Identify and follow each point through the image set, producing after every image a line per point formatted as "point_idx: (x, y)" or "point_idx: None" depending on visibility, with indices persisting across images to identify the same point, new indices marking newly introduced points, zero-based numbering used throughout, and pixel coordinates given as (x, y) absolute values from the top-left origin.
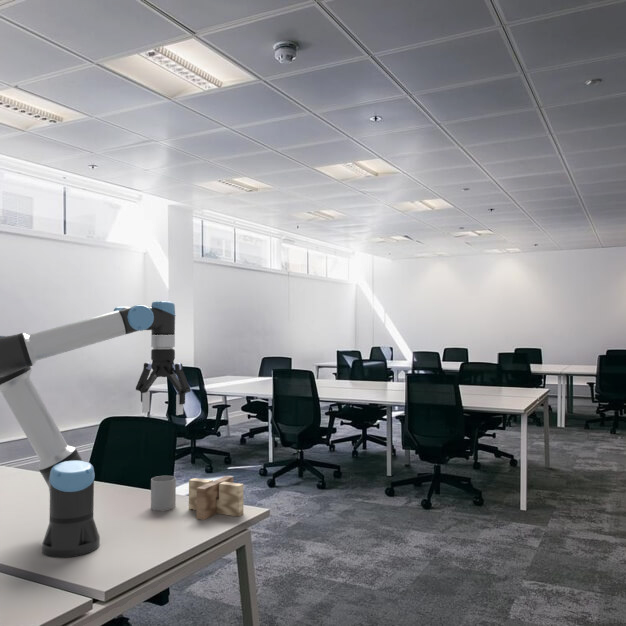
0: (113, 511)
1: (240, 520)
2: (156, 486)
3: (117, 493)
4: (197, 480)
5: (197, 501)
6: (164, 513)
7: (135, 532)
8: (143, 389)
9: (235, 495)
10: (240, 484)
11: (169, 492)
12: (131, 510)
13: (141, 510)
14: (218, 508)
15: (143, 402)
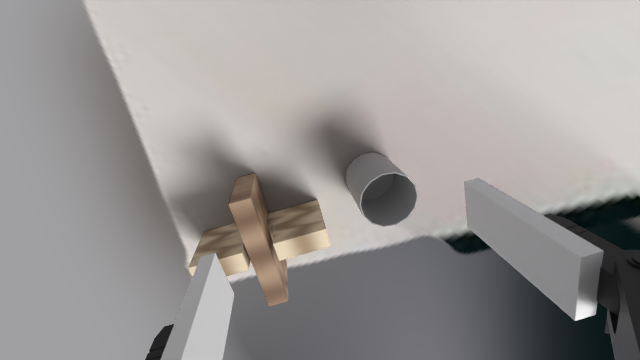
0: (432, 93)
1: (180, 219)
2: (378, 169)
3: (519, 172)
4: (306, 239)
5: (250, 186)
6: (334, 153)
7: (278, 34)
8: (631, 280)
9: (202, 252)
10: None
11: (354, 186)
12: (406, 122)
13: (389, 135)
14: None
15: (517, 210)
